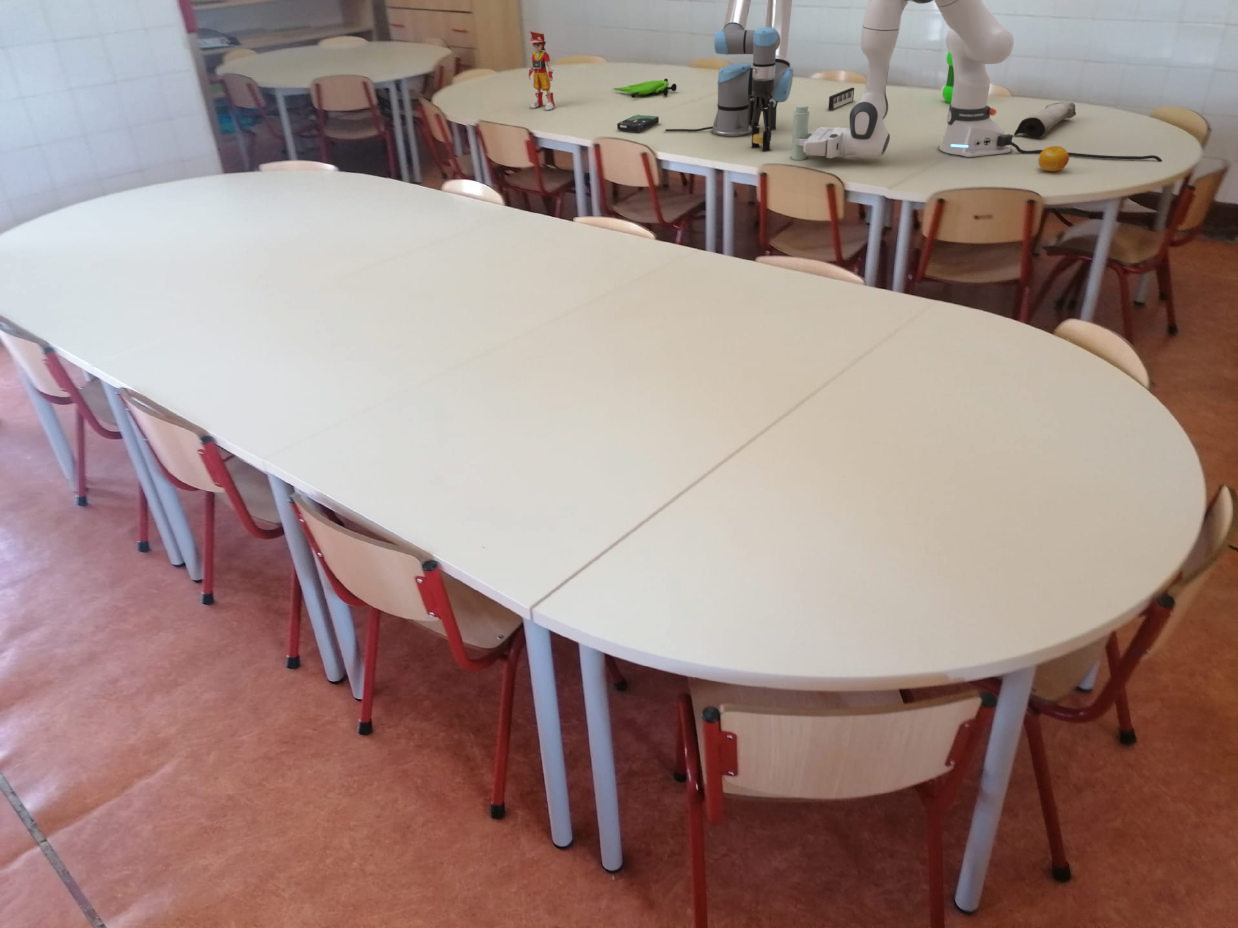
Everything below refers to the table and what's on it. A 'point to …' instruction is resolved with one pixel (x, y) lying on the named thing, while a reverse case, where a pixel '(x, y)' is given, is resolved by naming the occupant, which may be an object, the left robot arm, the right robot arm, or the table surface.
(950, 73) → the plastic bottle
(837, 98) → the midi keyboard
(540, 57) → the toy
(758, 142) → the lid
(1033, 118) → the rolled mat
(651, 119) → the disk drive
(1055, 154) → the fruit
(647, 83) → the toy
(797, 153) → the jar
